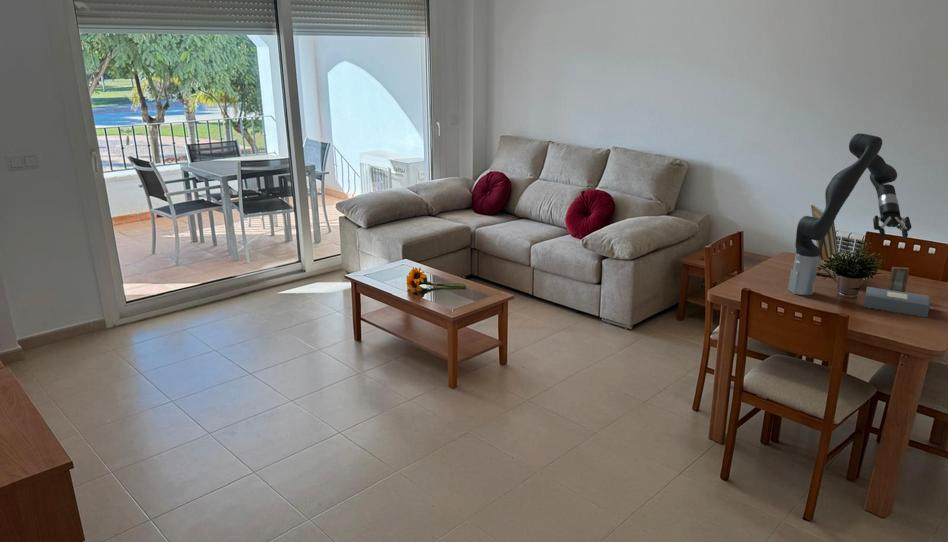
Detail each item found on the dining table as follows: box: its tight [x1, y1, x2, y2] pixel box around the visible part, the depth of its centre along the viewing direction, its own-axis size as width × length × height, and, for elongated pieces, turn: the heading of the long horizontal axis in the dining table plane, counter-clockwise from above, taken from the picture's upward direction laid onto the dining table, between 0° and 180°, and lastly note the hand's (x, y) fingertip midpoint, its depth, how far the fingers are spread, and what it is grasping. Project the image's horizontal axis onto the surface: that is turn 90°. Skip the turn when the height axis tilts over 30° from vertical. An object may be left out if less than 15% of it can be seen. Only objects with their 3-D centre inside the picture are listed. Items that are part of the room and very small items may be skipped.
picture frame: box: [810, 204, 839, 282], centre depth 317 cm, size 33×10×30 cm, turn 168°
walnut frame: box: [887, 266, 911, 292], centre depth 288 cm, size 6×6×13 cm
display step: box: [863, 286, 931, 318], centre depth 277 cm, size 22×14×5 cm, turn 59°
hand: (894, 237), depth 294 cm, fingers open, 8 cm apart
